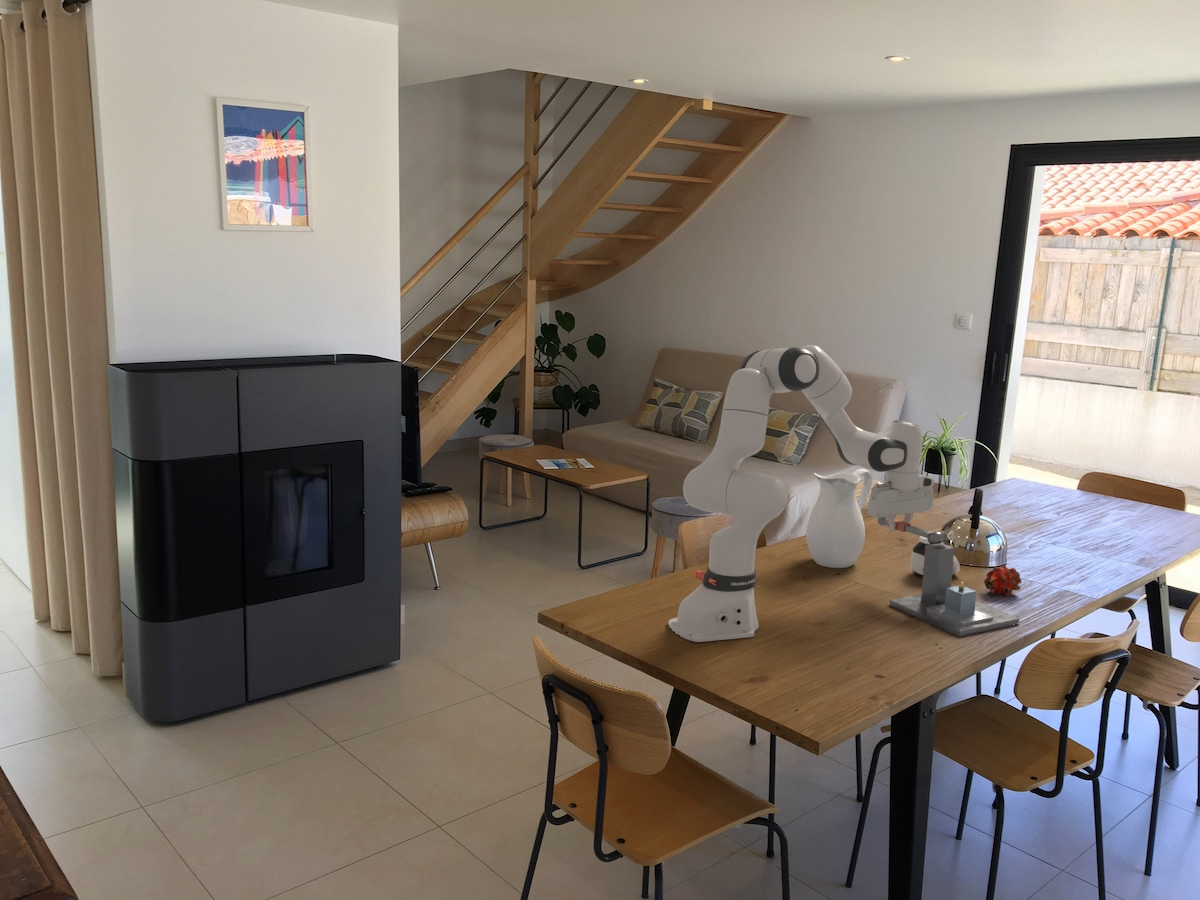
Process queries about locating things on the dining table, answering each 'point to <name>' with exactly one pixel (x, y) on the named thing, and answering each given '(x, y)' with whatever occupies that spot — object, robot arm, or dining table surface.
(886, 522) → the lever
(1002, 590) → the dragon fruit
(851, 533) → the pitcher
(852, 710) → the dining table surface
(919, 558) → the spread jar
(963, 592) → the block
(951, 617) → the stand
